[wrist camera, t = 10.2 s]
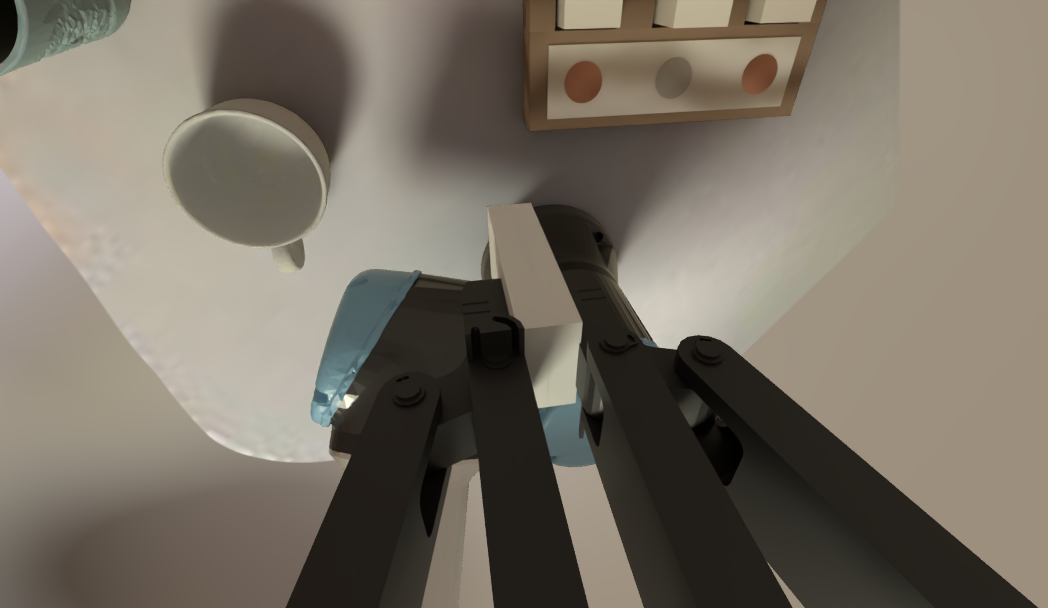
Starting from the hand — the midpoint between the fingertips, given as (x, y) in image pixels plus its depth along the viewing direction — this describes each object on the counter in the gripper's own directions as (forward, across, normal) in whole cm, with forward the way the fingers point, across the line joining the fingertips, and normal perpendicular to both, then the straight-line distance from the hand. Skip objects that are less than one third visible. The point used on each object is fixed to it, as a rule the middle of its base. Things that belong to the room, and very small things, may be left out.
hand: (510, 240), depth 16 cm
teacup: (+30, +17, +7) cm, 35 cm away
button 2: (+29, -10, -6) cm, 31 cm away
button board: (+29, -18, -4) cm, 35 cm away
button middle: (+28, -18, -6) cm, 33 cm away
